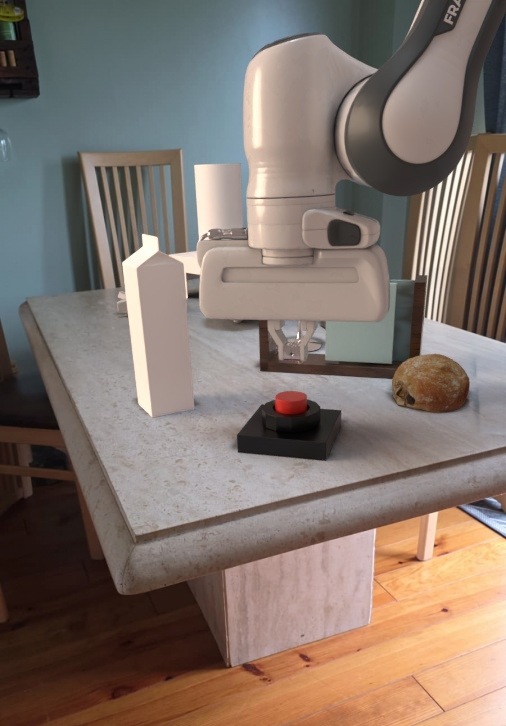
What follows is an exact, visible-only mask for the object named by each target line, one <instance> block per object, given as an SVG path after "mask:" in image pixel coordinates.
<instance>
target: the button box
mask: <svg viewBox="0 0 506 726" xmlns="http://www.w3.org/2000/svg"><path fill="white" fill-rule="evenodd" d="M341 428H342V409H333V408H332V409H331V408H321V405H319V403H318V402H317V401H314V400H311V399H308V398H307V411H305V412H303V413H298V414H282V413H279V412H276V411H275V399H273V400H270V401H267V402H265V404H261V405H260V406H259V407H258V408H257V409H256V410H255V412H254V413H253V414H252V416H251V417H250V418H249V419H248V420H247V422H246V423H245V424H244V425H243V427H242V428H241V429H240V431H238V433H237V434H236V445H237V446H236V447H237V453H238V454H250V455H259V456H269V457H279V458H280V457H281V458H290V459H299V460H300V459H301V460H310V461H311V460H312V461H321V462H326V461H327V460H328V458H329V455H330V453H331V450H332V448H333V446H334V443H335V442H336V439H337V436H338V434H339V432H340V430H341Z"/></svg>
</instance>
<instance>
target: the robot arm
mask: <svg viewBox="0 0 506 726" xmlns="http://www.w3.org/2000/svg"><path fill="white" fill-rule="evenodd" d="M505 14H506V0H421V1H420V3H419V6H418V8H417V10H416V13H415V15H414V18H413V20H412V23H411V26H410V28H409V30H408V32H407V34H406V36H405V37H404V39H403V41H402V43H401V44H400V45H399V46H398V48H397V49H396V51H394V53H393V54H392V55H391V56H390V58H389V59H387V60H386V62H385V63H383V64H382V65H381V66H380V67H379V68H375V67H373V66H370V65H368V64H366V63H364V62H363V61H360V60H358V59H357V58H354V57H353V56H351V55H350V54H348V53H347V52H345V51H344V50H342V49H341V48H339V47H338V46H337V45H335V44H334V43H333V41H332V40H330V38H329V37H328V36H327V35H326V34H324V33H320V32H301V33H297V34H292V35H289V36H285V37H283V38H279V39H276V40H274V41H272V42H271V43H270V42H269V43H267V44H265V45H264V46H262V47H261V48H260V49H259V50H258V51H257V52H256V53H255V54H254V55H253V56H252V58H251V60H250V61H249V62H248V65H247V67H246V71H245V75H244V83H243V97H242V135H243V151H244V154H245V158H246V161H247V165H248V182H247V187H246V191H245V198H246V199H245V200H246V201H245V202H246V222H247V227H243V228H233V229H210V230H208V233H206V234H204V235H202V236H201V237H200V239H199V238H198V241H197V243H196V251H197V261H198V264H199V266H200V268H201V271H200V278H199V285H198V286H199V287H198V303H199V310H200V312H201V313H202V314H203V316H204V317H205V318H206V319H209V320H228V319H243V320H247V321H248V320H252V321H259V320H268V331H269V333H270V334H271V336H272V337H273V339H274V341H275V342H276V344H277V345H278V351H279V360H282V361H284V360H285V361H306V360H307V358H308V353H309V352H308V343H309V341H310V340H312V338H313V337H314V334H315V332H316V331H317V329H318V327H319V322H321V321H340V322H380V321H381V320H382V319H383V318H384V317H385V316H386V315H387V314H388V312H389V308H390V281H389V280H390V272H389V264H388V259H387V255H386V253H385V251H384V250H383V248H381V246H380V245H379V244H376V243H377V242H378V240H379V238H380V235H381V224H380V221H378V220H377V219H376V218H373V217H370V216H367V215H365V214H361V213H357V212H354V211H353V210H352V211H351V210H349V209H343V208H340V207H338V206H337V205H336V187H337V184H338V183H339V182H340V181H344V180H347V181H351V182H352V183H355V184H357V185H361V186H365V187H368V188H371V189H374V190H376V191H378V192H379V193H381V194H384V195H388V196H393V197H411V196H417V195H420V194H424V193H425V192H428V191H430V190H432V189H433V188H435V187H437V186H438V185H439V184H441V183H442V182H443V181H444V180H446V179H447V178H448V177H449V176H450V175H451V174H452V173H453V171H454V170H455V169H456V167H457V166H458V165H459V163H460V162H461V160H462V159H463V157H464V155H465V153H466V151H467V149H468V146H469V144H470V141H471V140H470V139H471V136H472V132H473V131H472V130H473V127H474V121H475V112H476V104H477V95H478V88H479V84H480V78H481V75H482V70H483V67H484V64H485V62H486V59H487V56H488V54H489V51H490V48H491V46H492V44H493V41H494V39H495V37H496V35H497V32H498V30H499V27H500V25H501V23H502V20H503V18H504V16H505ZM207 237H208V238H209V239H211V240H204V239H205V238H207ZM221 239H228V240H221ZM286 321H292V322H293V321H295V322H296V321H297V322H298V321H301V330H302V332H305V334H304V335H303V339H302V341H301V342H289V340H288V338H287V337H286V335H285V332H284V331H283V329H282V328H283V327H284V326H285V324H286Z"/></svg>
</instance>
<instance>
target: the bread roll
mask: <svg viewBox="0 0 506 726" xmlns="http://www.w3.org/2000/svg"><path fill="white" fill-rule="evenodd" d="M470 384H471V382H470V377H469V375H468V374H467V372H466V370H465V369H464V368H463V367H462V365H460V364H459V363H458V362H457V361H455V360H454V359H453V358H451V357H449V356H447V355H443V354H440V353H427V354H421V355H420V356H416V357H413V358H410V359H408V360H406V361H405V362H403V363H402V364H401V365H400V366H399V367H398V369H397V370H396V372H395V374H394V377H393V379H392V380H391V387H392V389H391V390H392V397H393V399H394V400H395V401H396V405H398V406H403V407H407V408H410V409H413V410H423V411H425V412H427V413H429V412H430V413H445V412H446V413H447V412H453V411H455V410H460V408H462V406H464V404H465V403H466V401H467V399H468V395H469V393H470Z"/></svg>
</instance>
